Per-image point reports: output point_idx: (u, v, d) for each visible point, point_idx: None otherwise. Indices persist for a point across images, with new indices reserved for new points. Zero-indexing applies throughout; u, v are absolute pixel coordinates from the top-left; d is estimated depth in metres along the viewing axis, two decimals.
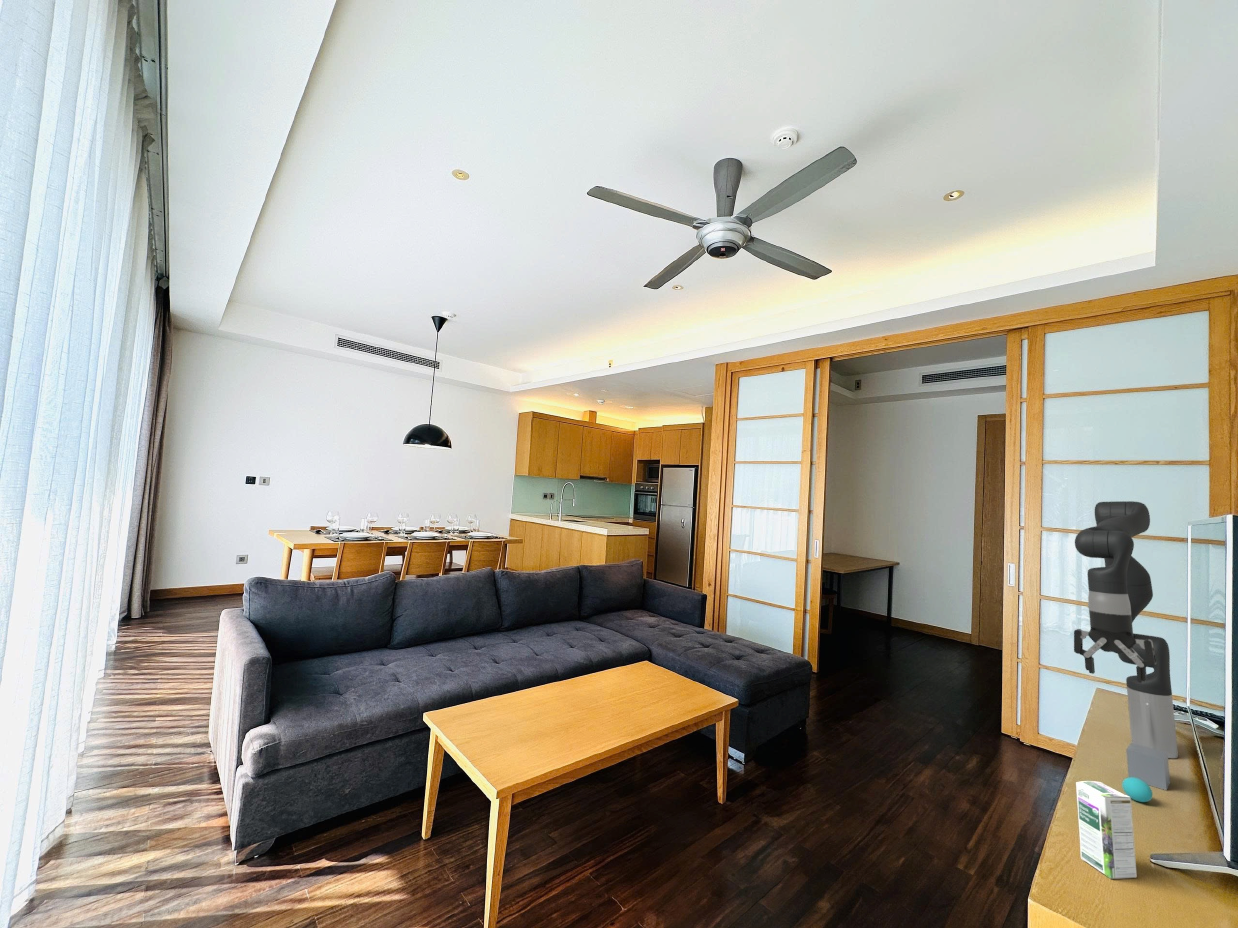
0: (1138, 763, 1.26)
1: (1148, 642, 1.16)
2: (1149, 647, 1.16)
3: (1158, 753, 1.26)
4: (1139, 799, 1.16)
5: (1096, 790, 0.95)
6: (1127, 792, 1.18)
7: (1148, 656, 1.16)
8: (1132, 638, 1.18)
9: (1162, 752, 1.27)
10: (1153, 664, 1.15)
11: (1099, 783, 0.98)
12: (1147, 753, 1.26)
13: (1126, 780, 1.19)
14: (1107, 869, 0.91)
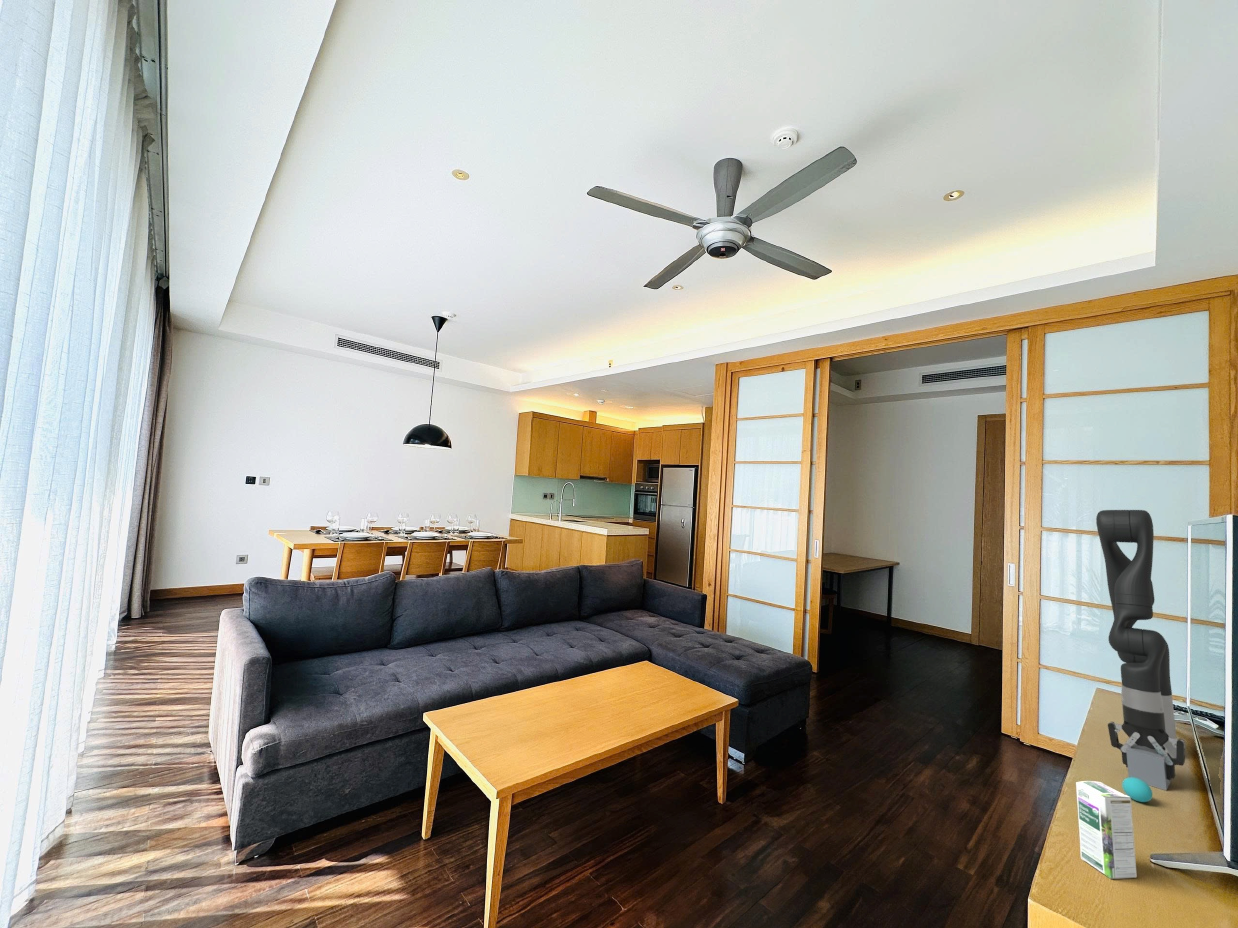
0: (1138, 763, 1.26)
1: (1181, 743, 1.22)
2: (1181, 747, 1.22)
3: (1158, 753, 1.26)
4: (1139, 799, 1.16)
5: (1096, 790, 0.95)
6: (1127, 792, 1.18)
7: (1178, 755, 1.22)
8: (1165, 736, 1.25)
9: None
10: (1182, 763, 1.22)
11: (1099, 783, 0.98)
12: (1147, 753, 1.26)
13: (1126, 780, 1.19)
14: (1107, 869, 0.91)
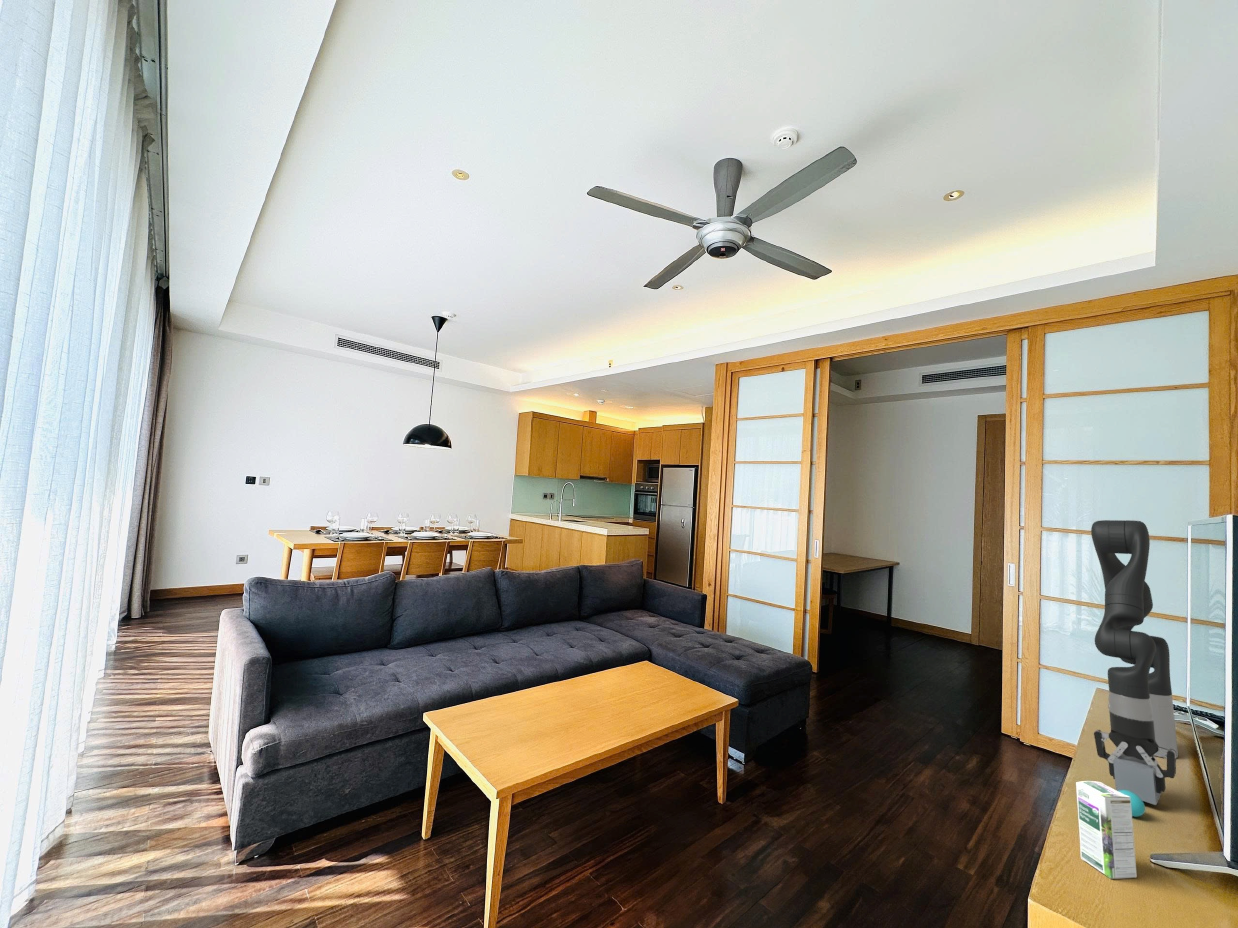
0: (1126, 776, 1.17)
1: (1172, 754, 1.13)
2: (1172, 759, 1.13)
3: (1147, 764, 1.17)
4: (1131, 792, 1.12)
5: (1096, 790, 0.95)
6: (1120, 790, 1.14)
7: (1169, 767, 1.14)
8: (1155, 746, 1.16)
9: None
10: (1172, 776, 1.13)
11: (1099, 783, 0.98)
12: (1135, 764, 1.17)
13: None
14: (1107, 869, 0.91)
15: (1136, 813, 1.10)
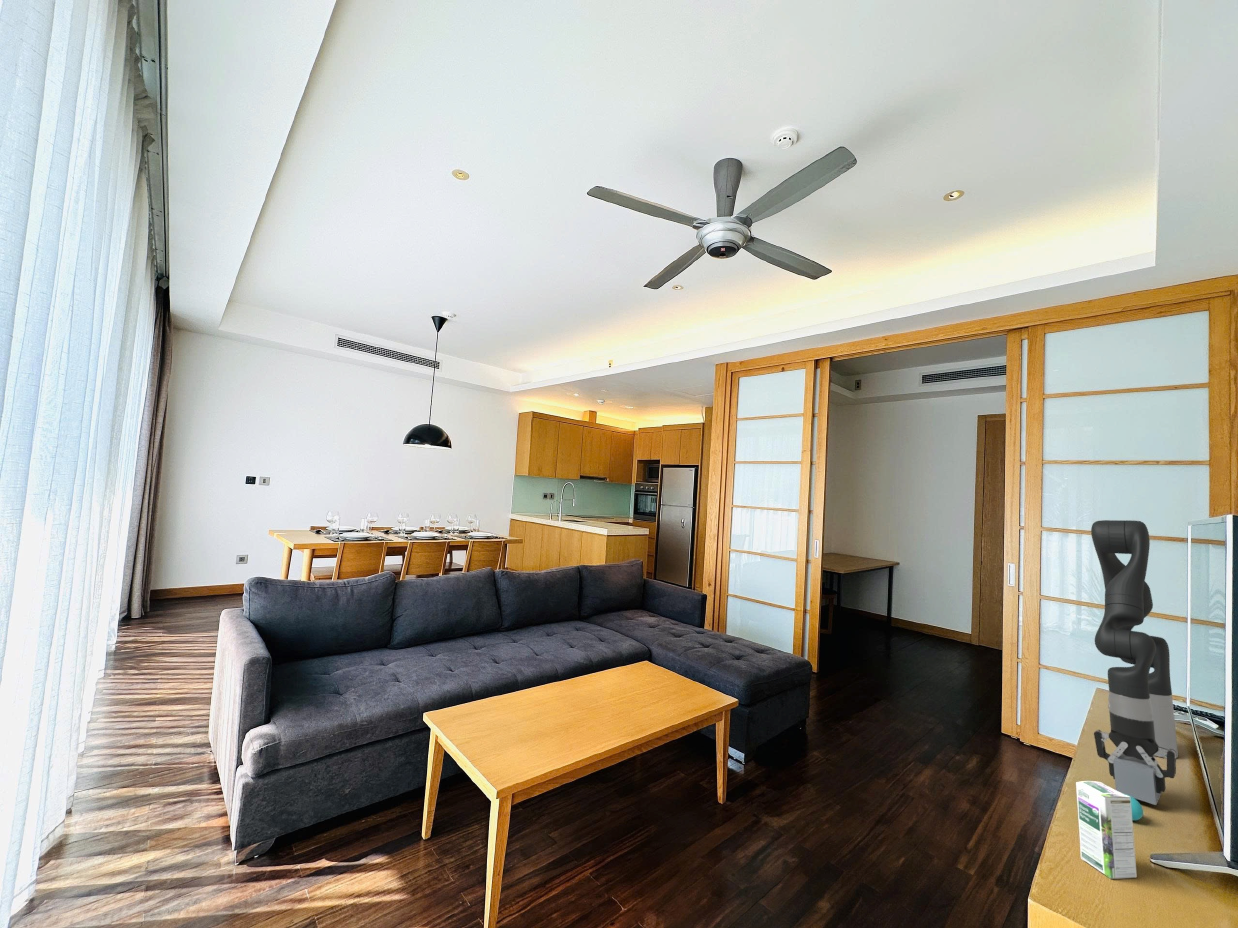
0: (1126, 775, 1.17)
1: (1172, 754, 1.13)
2: (1172, 759, 1.13)
3: (1147, 764, 1.17)
4: None
5: (1096, 790, 0.95)
6: None
7: (1169, 767, 1.14)
8: (1155, 746, 1.16)
9: None
10: (1172, 776, 1.13)
11: (1099, 783, 0.98)
12: (1135, 764, 1.17)
13: None
14: (1107, 869, 0.91)
15: None
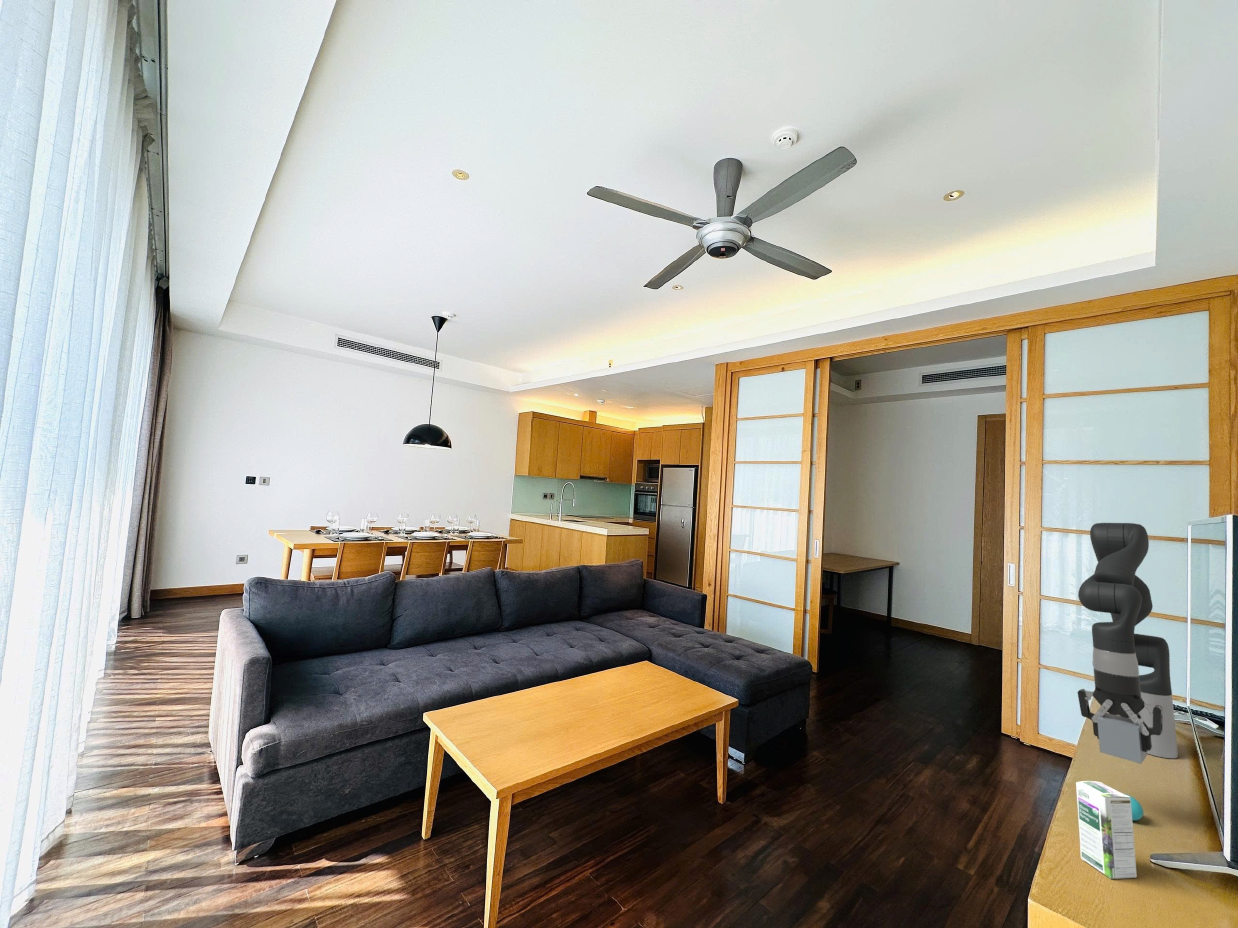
0: (1110, 734, 1.12)
1: (1158, 710, 1.07)
2: (1158, 715, 1.07)
3: None
4: None
5: (1096, 790, 0.95)
6: None
7: (1155, 724, 1.08)
8: (1141, 702, 1.10)
9: None
10: (1159, 733, 1.07)
11: (1099, 783, 0.98)
12: (1120, 722, 1.11)
13: None
14: (1107, 869, 0.91)
15: None
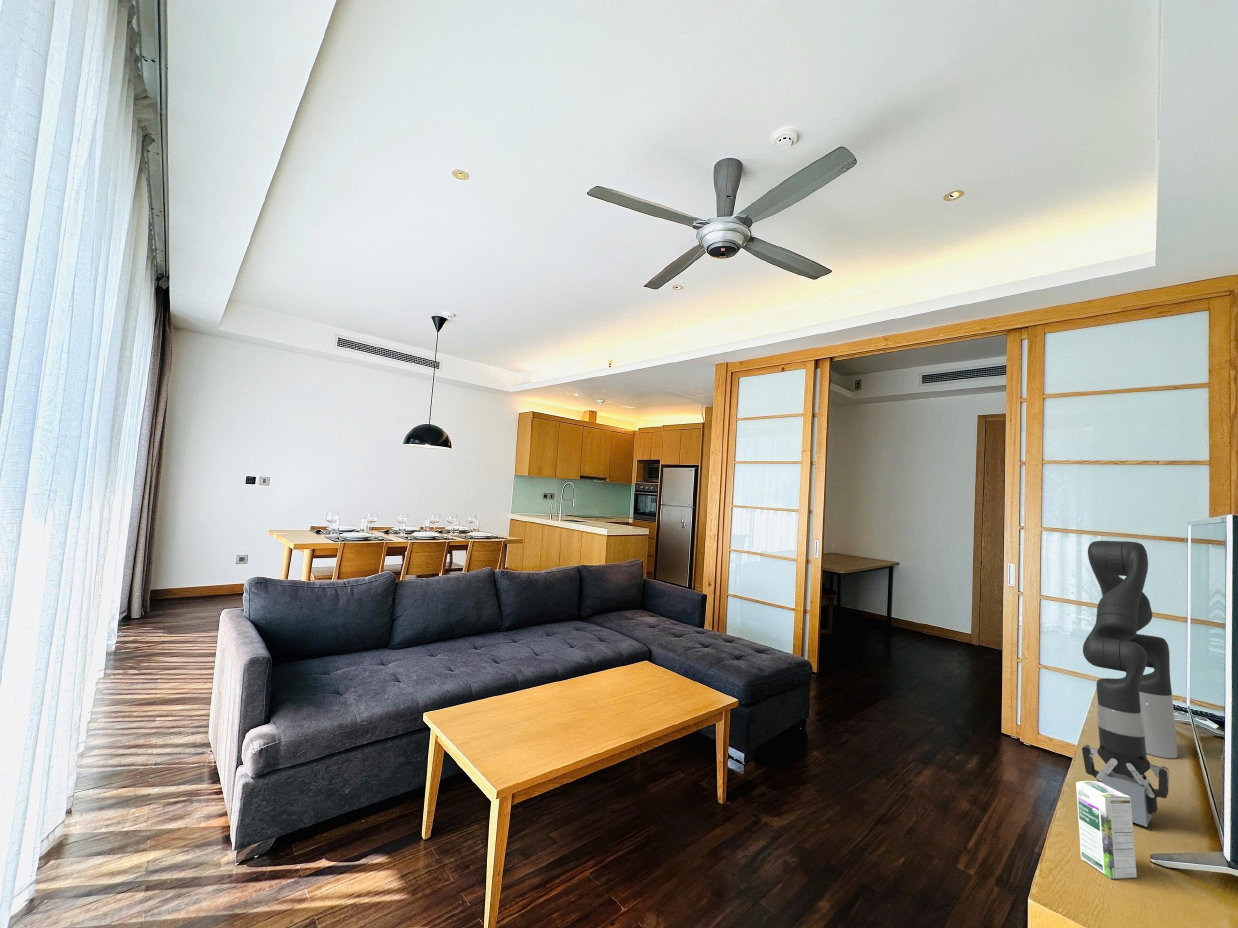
0: None
1: (1164, 772, 1.06)
2: (1164, 777, 1.06)
3: (1138, 783, 1.10)
4: None
5: (1096, 790, 0.95)
6: None
7: (1161, 786, 1.06)
8: (1146, 763, 1.08)
9: None
10: (1165, 796, 1.06)
11: (1099, 783, 0.98)
12: (1125, 783, 1.10)
13: None
14: (1107, 869, 0.91)
15: None
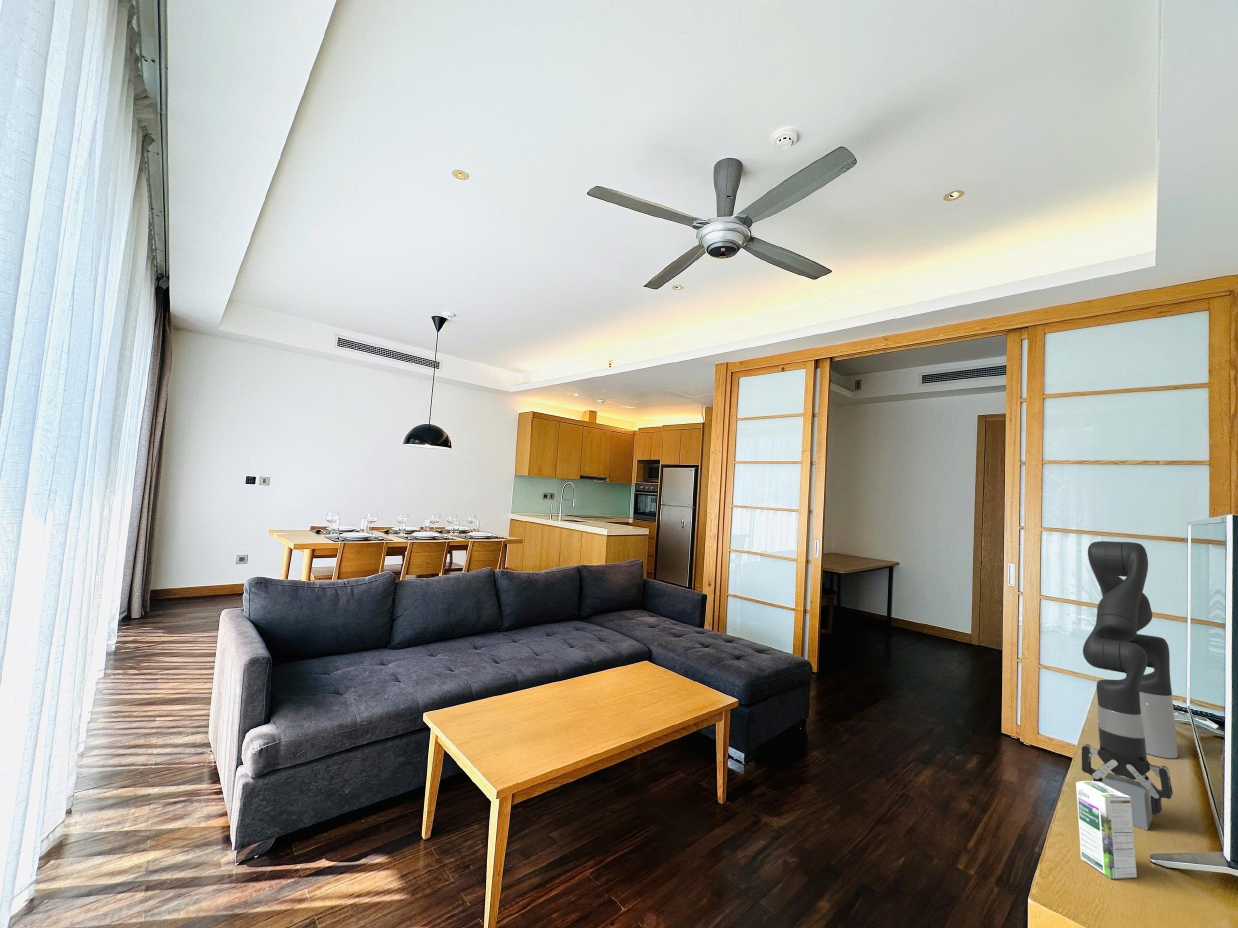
0: None
1: (1164, 771, 1.06)
2: (1165, 777, 1.06)
3: (1138, 786, 1.10)
4: None
5: (1096, 790, 0.95)
6: None
7: (1164, 787, 1.06)
8: (1146, 764, 1.08)
9: None
10: (1169, 796, 1.05)
11: (1099, 783, 0.98)
12: (1126, 786, 1.10)
13: None
14: (1107, 869, 0.91)
15: None
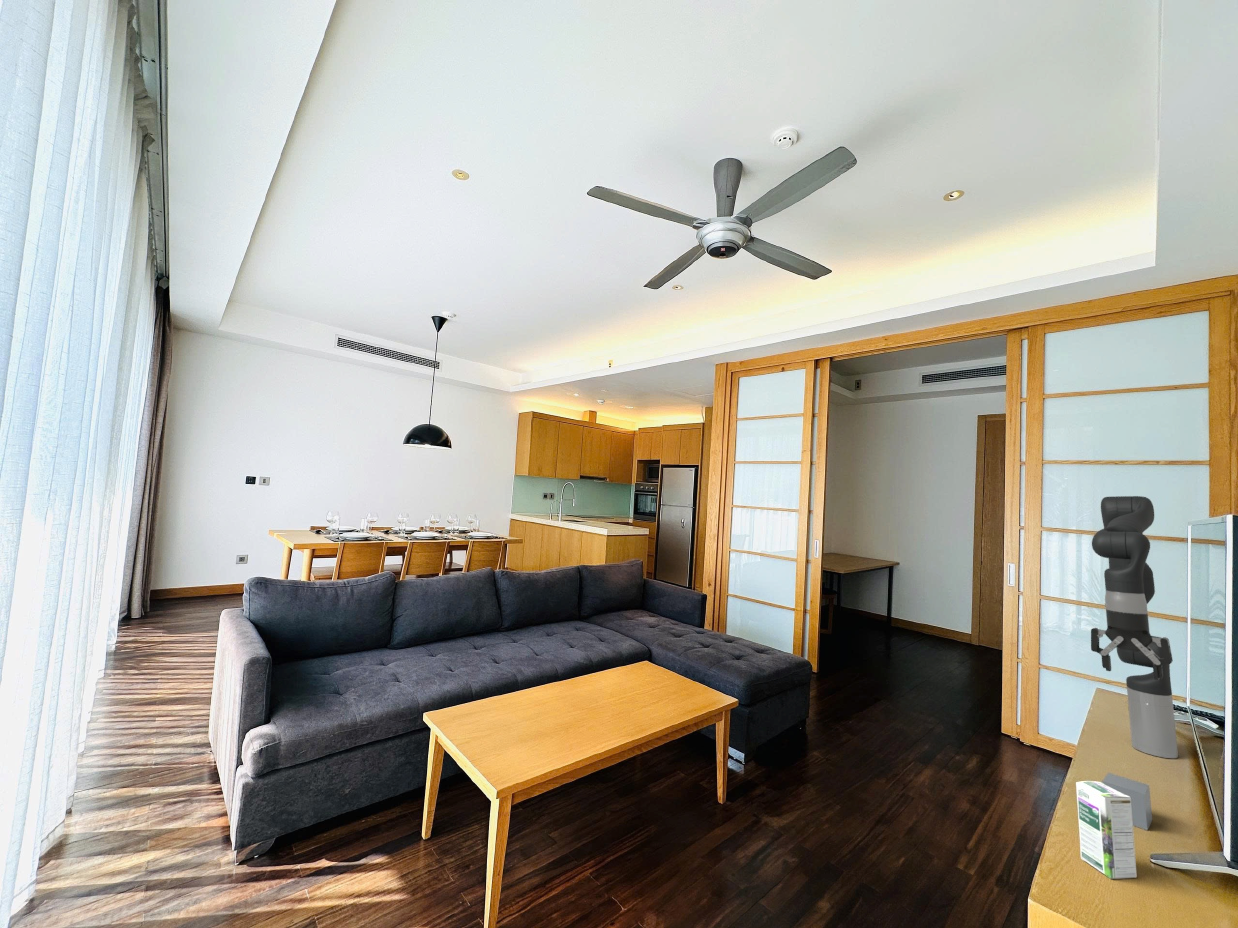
0: None
1: (1164, 640, 1.19)
2: (1165, 645, 1.19)
3: (1138, 786, 1.10)
4: None
5: (1096, 790, 0.95)
6: None
7: (1164, 654, 1.19)
8: (1149, 636, 1.22)
9: (1142, 785, 1.10)
10: (1169, 662, 1.18)
11: (1099, 783, 0.98)
12: (1126, 786, 1.10)
13: None
14: (1107, 869, 0.91)
15: None
